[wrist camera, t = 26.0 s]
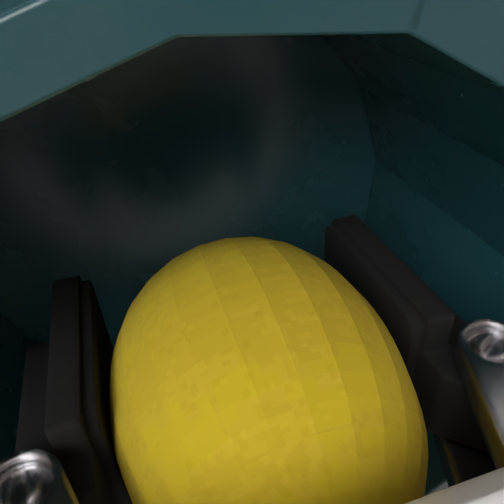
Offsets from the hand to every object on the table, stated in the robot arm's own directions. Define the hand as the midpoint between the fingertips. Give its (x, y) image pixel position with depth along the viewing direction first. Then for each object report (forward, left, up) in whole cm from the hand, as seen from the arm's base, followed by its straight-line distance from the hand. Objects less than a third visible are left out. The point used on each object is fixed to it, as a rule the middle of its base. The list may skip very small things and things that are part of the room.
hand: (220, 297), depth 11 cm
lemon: (0, 0, -1) cm, 1 cm away
